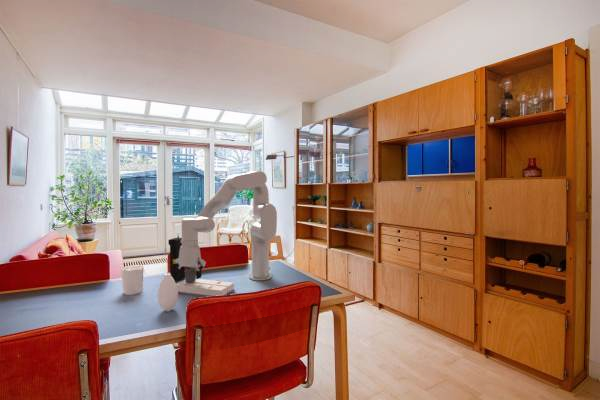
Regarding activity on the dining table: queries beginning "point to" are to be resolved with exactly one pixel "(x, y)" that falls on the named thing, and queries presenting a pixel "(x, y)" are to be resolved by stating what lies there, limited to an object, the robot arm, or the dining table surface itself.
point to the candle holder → (132, 279)
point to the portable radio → (175, 257)
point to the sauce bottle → (167, 293)
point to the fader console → (205, 288)
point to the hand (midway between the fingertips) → (190, 277)
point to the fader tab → (190, 275)
